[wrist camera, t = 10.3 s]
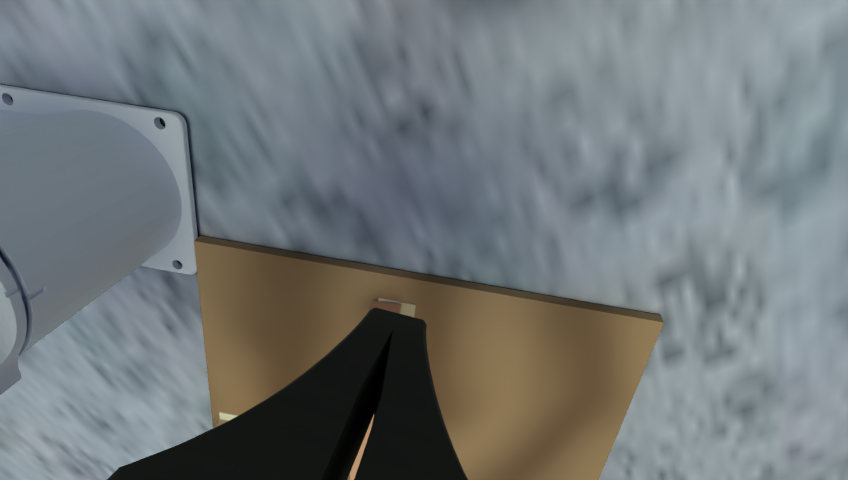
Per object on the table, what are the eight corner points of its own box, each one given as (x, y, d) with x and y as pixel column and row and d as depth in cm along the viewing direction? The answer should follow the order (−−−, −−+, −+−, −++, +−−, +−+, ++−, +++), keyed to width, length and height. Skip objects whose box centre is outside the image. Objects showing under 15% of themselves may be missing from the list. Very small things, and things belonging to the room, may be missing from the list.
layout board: (224, 481, 32) (219, 490, 31) (200, 235, 24) (192, 241, 23) (563, 551, 31) (564, 562, 30) (659, 314, 22) (664, 323, 22)
